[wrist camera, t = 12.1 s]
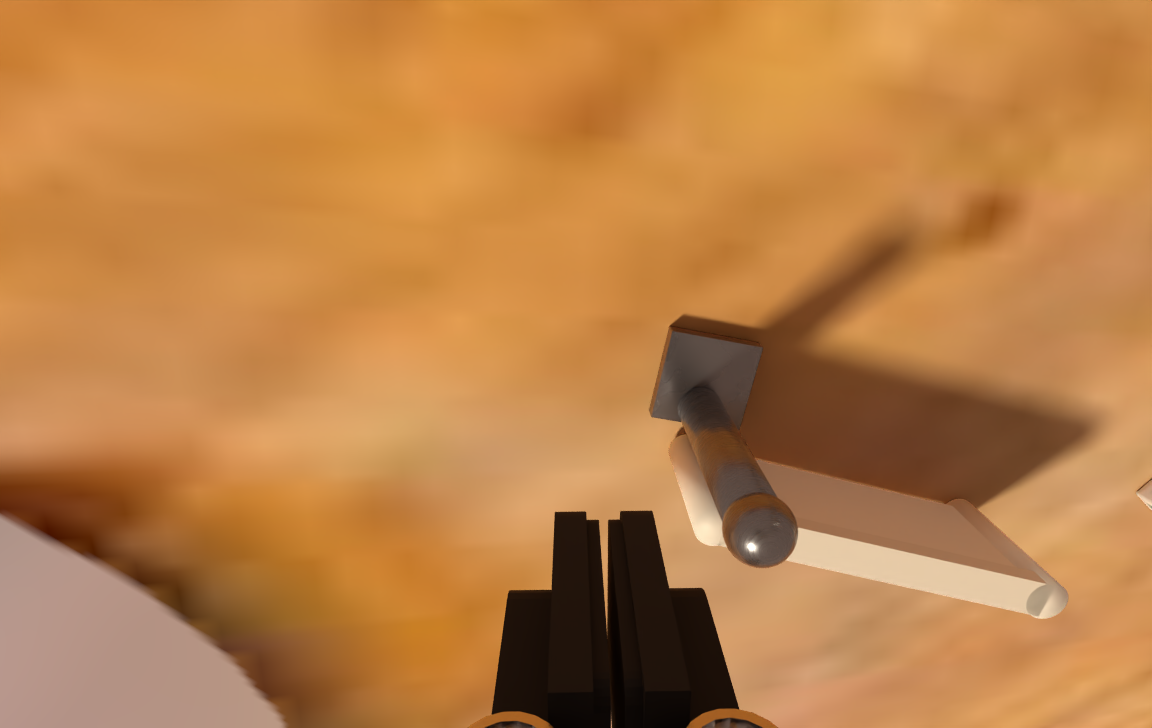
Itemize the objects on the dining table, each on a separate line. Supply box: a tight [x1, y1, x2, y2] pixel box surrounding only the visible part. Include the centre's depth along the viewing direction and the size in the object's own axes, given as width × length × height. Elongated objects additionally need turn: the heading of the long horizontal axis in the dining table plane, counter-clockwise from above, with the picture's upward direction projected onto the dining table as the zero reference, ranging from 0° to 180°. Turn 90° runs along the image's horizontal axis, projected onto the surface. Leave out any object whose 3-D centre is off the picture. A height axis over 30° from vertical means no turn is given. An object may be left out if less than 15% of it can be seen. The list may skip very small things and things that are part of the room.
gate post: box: [649, 326, 798, 568], centre depth 31 cm, size 5×5×15 cm
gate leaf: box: [669, 434, 1068, 619], centre depth 36 cm, size 2×19×8 cm, turn 75°
